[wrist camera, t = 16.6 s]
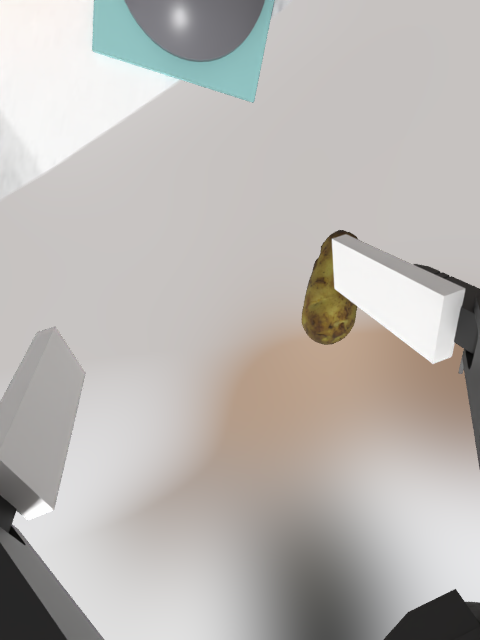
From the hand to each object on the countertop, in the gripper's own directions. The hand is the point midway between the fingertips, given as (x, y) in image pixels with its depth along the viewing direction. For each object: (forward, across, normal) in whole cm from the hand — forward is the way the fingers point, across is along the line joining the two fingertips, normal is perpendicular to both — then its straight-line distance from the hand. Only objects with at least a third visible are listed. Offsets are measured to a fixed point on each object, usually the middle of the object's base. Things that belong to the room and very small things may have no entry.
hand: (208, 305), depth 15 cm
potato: (+22, +16, -13) cm, 30 cm away
